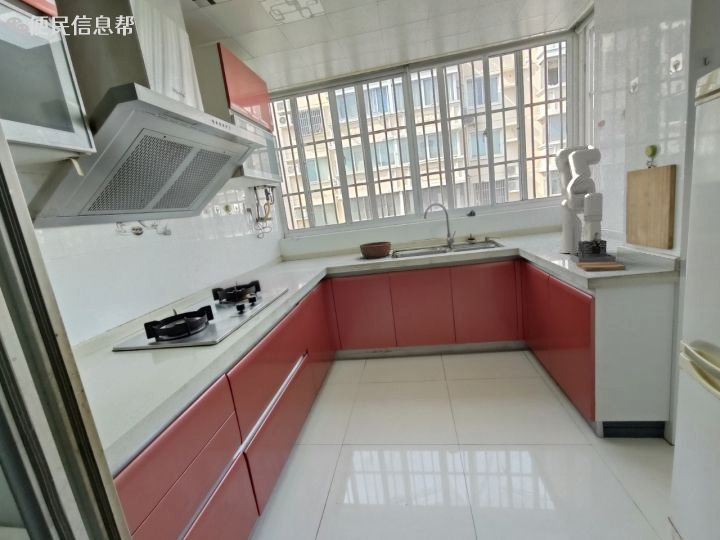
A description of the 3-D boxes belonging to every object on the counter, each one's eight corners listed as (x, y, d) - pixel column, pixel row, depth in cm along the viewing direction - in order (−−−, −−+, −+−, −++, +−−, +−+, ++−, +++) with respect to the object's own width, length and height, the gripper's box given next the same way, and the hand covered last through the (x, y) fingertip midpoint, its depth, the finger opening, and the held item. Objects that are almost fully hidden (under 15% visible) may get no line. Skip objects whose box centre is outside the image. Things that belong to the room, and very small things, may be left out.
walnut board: (576, 265, 161) (576, 262, 161) (612, 263, 157) (612, 260, 156) (586, 271, 149) (586, 268, 149) (625, 269, 144) (625, 266, 144)
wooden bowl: (367, 254, 281) (365, 242, 279) (395, 252, 272) (394, 240, 270) (356, 259, 258) (355, 247, 256) (386, 258, 249) (385, 244, 247)
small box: (601, 259, 168) (601, 239, 166) (606, 261, 162) (607, 240, 160) (577, 260, 171) (578, 240, 169) (582, 263, 165) (582, 242, 163)
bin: (570, 259, 175) (570, 254, 174) (604, 258, 170) (604, 252, 170) (578, 264, 163) (578, 258, 163) (615, 262, 158) (615, 256, 158)
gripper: (578, 218, 172) (578, 250, 175) (590, 220, 156) (590, 255, 159) (594, 217, 170) (594, 249, 173) (609, 218, 153) (608, 254, 156)
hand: (592, 252), depth 166 cm, fingers open, 9 cm apart
